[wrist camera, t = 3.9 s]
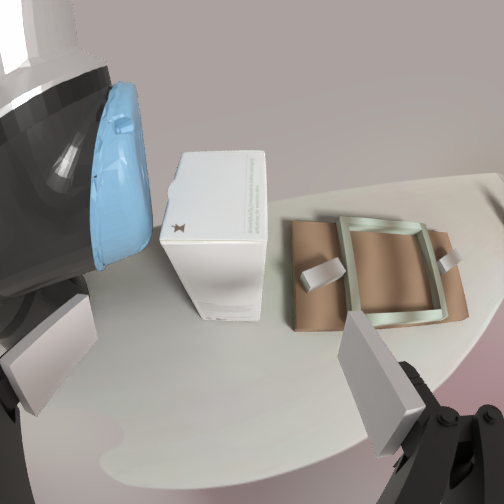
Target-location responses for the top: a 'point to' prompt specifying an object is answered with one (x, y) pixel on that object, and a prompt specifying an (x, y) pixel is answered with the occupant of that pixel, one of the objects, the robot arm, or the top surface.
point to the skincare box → (219, 231)
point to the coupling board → (374, 274)
